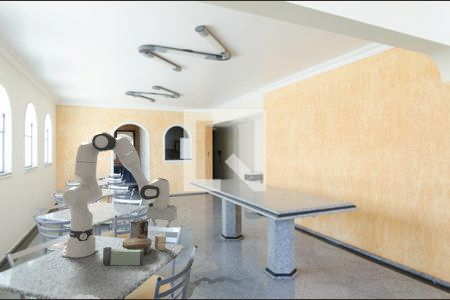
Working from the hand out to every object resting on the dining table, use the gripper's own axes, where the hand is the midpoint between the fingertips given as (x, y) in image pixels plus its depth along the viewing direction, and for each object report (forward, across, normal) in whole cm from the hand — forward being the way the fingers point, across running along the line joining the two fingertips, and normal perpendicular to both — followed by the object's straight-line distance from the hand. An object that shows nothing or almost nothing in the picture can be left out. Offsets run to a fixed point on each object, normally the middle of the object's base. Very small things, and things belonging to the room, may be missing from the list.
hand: (161, 226), depth 173 cm
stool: (+14, +6, +16) cm, 22 cm away
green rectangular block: (+13, +4, +30) cm, 33 cm away
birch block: (+14, +1, 0) cm, 14 cm away
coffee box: (+14, +15, +3) cm, 20 cm away
